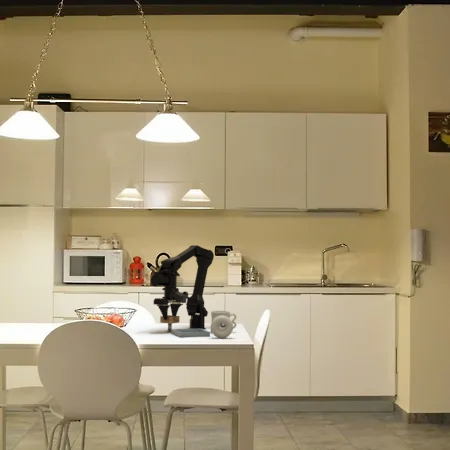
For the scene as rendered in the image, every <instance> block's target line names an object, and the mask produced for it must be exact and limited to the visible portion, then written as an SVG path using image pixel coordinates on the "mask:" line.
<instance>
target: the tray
mask: <svg viewBox="0 0 450 450" xmlns="http://www.w3.org/2000/svg"><path fill="white" fill-rule="evenodd" d="M170 334H172V335H173V336H176V337H178V338H199V337H200V338H203V337H204V338H205V337H211V331H208V330H206V329H191V328H172V329H171V332H170Z"/></svg>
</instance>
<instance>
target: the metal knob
mask: <svg viewBox="0 0 450 450" xmlns="http://www.w3.org/2000/svg"><path fill="white" fill-rule="evenodd" d="M171 329H173V323H172V324H170V323H167V330H166V333H171Z"/></svg>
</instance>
